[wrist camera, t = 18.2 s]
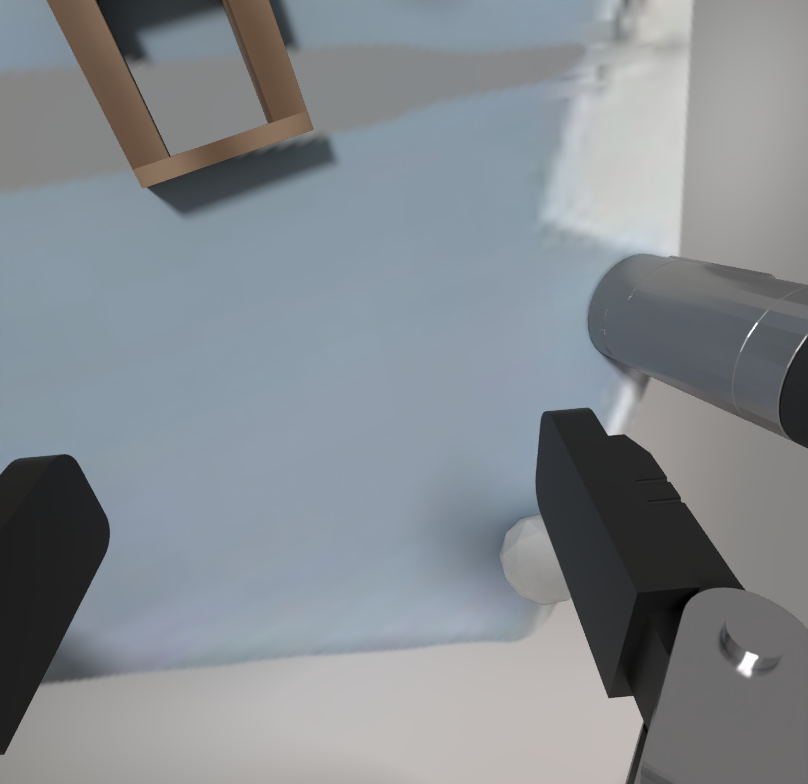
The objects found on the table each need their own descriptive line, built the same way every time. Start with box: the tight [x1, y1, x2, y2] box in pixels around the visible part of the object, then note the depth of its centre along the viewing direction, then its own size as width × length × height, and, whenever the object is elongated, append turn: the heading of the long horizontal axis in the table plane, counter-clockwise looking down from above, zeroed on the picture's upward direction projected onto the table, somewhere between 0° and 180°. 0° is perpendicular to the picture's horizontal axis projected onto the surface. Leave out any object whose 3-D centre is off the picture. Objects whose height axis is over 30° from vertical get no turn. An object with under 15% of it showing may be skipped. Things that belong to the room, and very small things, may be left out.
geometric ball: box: [499, 514, 571, 605], centre depth 49 cm, size 8×8×8 cm
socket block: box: [47, 0, 313, 189], centre depth 29 cm, size 10×10×2 cm
